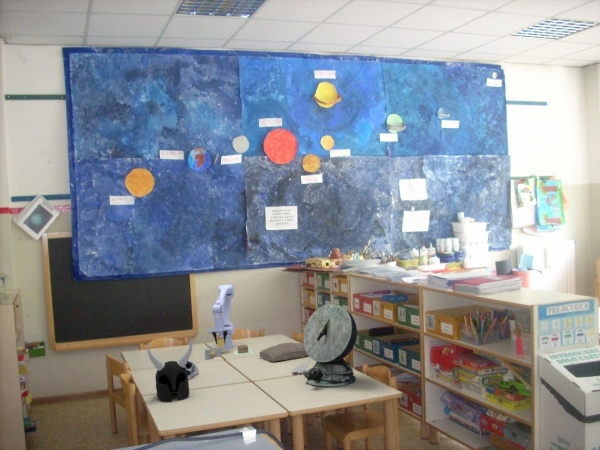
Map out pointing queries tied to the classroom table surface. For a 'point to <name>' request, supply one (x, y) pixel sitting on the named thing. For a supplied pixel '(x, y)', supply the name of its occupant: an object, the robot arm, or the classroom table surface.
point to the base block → (242, 349)
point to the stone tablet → (284, 352)
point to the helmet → (171, 376)
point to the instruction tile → (212, 353)
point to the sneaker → (191, 369)
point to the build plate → (243, 353)
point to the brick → (220, 342)
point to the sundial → (330, 345)
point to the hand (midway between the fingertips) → (220, 343)
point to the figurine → (301, 367)
